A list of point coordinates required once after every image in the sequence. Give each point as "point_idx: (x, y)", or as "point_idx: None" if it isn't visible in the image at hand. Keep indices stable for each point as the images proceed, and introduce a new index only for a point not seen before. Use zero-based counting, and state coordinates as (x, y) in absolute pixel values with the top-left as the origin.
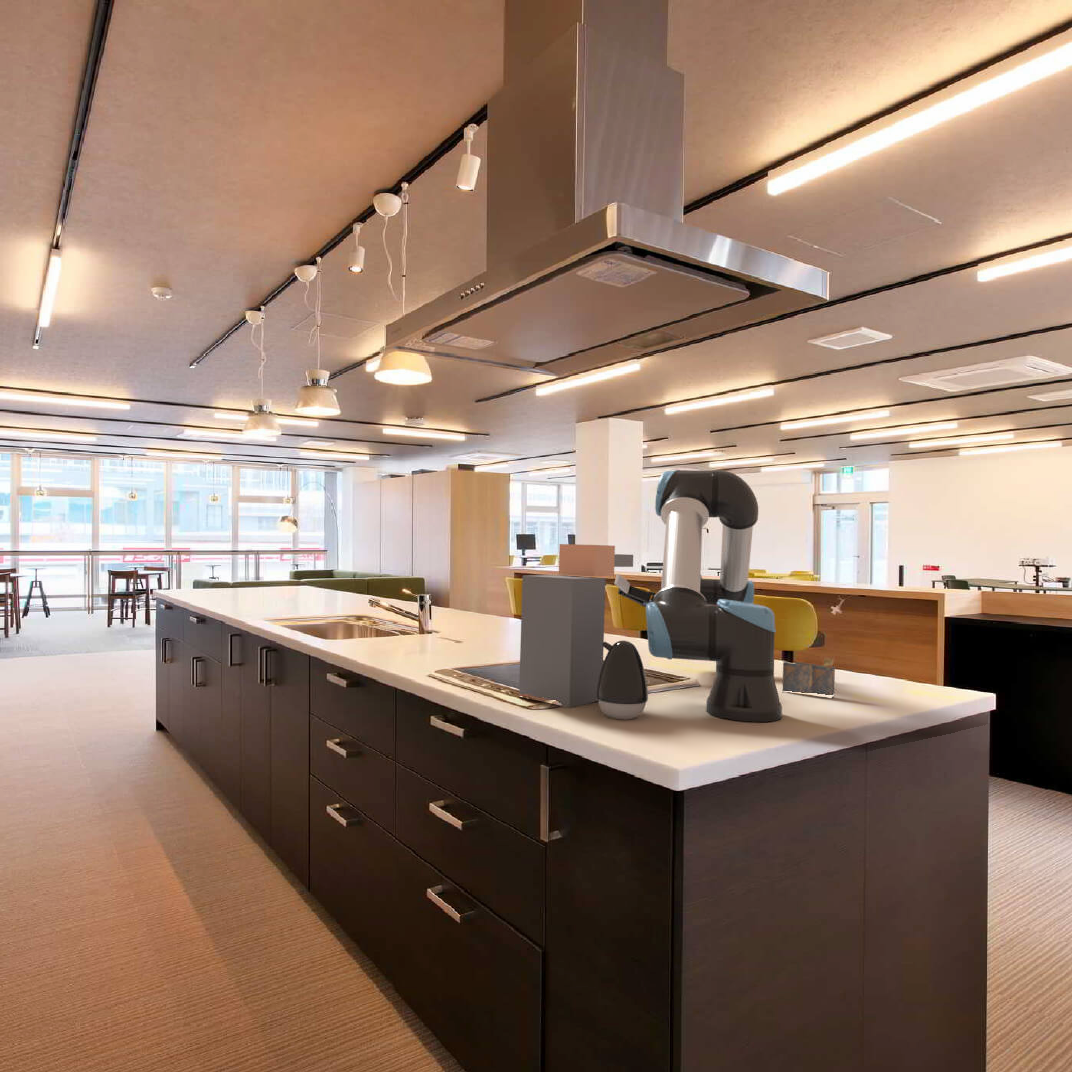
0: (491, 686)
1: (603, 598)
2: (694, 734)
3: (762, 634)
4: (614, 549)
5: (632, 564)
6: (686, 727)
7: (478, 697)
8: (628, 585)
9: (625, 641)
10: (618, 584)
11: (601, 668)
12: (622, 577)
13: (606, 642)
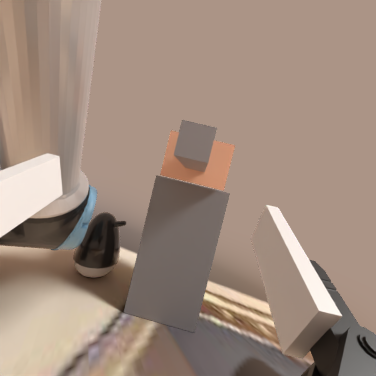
0: (252, 325)
1: (151, 198)
2: (35, 251)
3: None
4: (169, 136)
5: (175, 148)
6: (36, 260)
7: (217, 289)
8: (299, 304)
9: (105, 212)
10: (254, 246)
11: (132, 276)
12: (274, 225)
13: (123, 221)
